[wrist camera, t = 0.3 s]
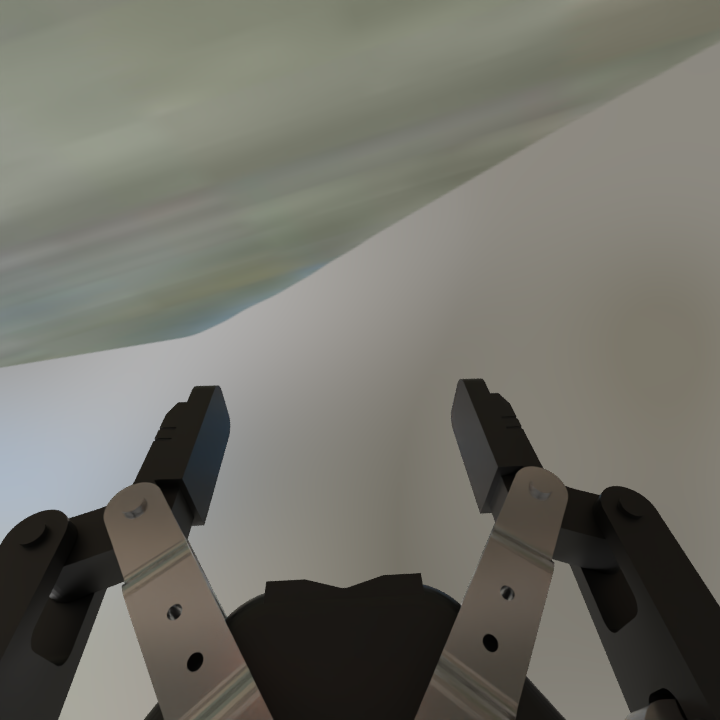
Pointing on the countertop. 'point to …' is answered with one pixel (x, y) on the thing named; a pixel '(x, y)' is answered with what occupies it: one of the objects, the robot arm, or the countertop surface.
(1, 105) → the countertop surface
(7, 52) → the countertop surface
